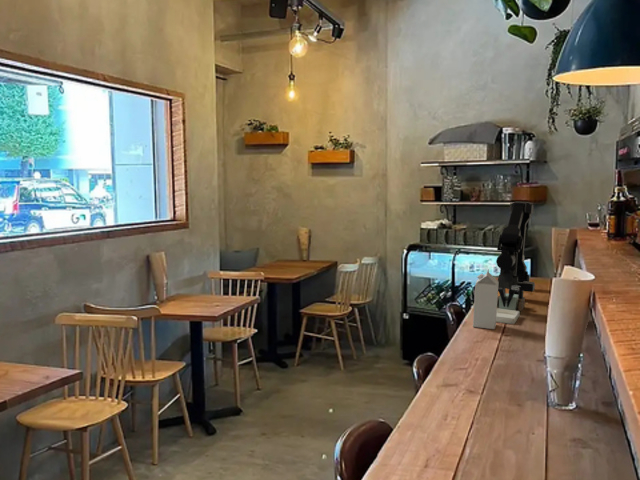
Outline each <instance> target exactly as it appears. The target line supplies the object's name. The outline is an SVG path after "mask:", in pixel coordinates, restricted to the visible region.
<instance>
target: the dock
mask: <svg viewBox="0 0 640 480" xmlns="http://www.w3.org/2000/svg"><path fill="white" fill-rule="evenodd" d="M499 296H500V295H498V300H497V308H499ZM525 299H526V298H525ZM525 299H518V308H517V311H520V312H522V311H523V310H524V309H525V305H526V303H525V302H526V301H525Z"/></svg>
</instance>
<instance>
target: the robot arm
mask: <svg viewBox="0 0 640 480" xmlns="http://www.w3.org/2000/svg"><path fill="white" fill-rule="evenodd" d="M509 213H510V216H509V220H508V224H507V226H505V227H504V228H503V229H502V232H501V233H500V235H499V237H498V243H497V247H496V251H497V252H500V254H499V255H498V257H496V260H495V264H496V265H497V267H498V268H499V269H500V271H499V274H498V277H497V281H498V282H499V284H498V294H499V296H501V299H502V302H503V306H504V307H505V304H506V303H505V301H506V293H507V291H506V290H508V294H509V297H508V302H507V307H509V305H510V302H511V300H512V298H513V296H514V294H517V295H518V299H526V297H525V296H524V292H529V293H532V292H534V291H535V288H536V287H535V286H536V283H535V282H534V281H530V274H529V271H527V268H528V267H527V265H526V263H525V260H524V261H523V257H524V258H525V244H526V243H525V242H526V232H527V231H526V230H527V224H528V223H529V221H531V219H532V215H533V213H534V204H532V203H531V201H514V202H511V203H510V204H509Z"/></svg>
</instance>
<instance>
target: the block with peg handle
mask: <svg viewBox="0 0 640 480" xmlns="http://www.w3.org/2000/svg"><path fill="white" fill-rule="evenodd" d="M498 296H499V306H498V309H506V310H514V311H517V310H518V308H519V307H518V295H517V294H514V296H513V298H512V300H511V302H510V305H509V307H507V302H508V297H509V292H506V301H505V303H506V304H505V307H504V306H503V302H502V299H501V296H500V295H498Z"/></svg>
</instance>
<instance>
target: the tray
mask: <svg viewBox="0 0 640 480" xmlns="http://www.w3.org/2000/svg"><path fill="white" fill-rule="evenodd" d="M520 313H521V311H519V310H515V311H514V310H506V309H499V307H497V315H496V323H501V324H506V325H507V324H508V325H515V323H516V322H517V321H518V320H519V318H520Z"/></svg>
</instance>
